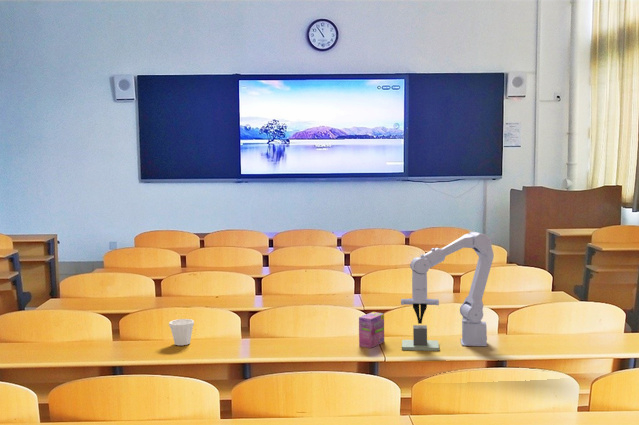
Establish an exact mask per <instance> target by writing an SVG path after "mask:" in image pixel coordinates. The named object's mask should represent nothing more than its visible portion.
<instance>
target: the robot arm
mask: <svg viewBox="0 0 639 425" xmlns="http://www.w3.org/2000/svg"><path fill="white" fill-rule="evenodd" d="M492 244H493V241H492V240H491V239H490V237H489V236H488V235H487V233H481V232H477V231H473V230H472V231H469V232H468V233H464V234H463V235H461V236H460V237H459V238H457V239H455V240H454V241H452V242H450V243H449V244H447V245H445V246H444V247H442V248H439V247H432V248H430V251H428V252H426V253H424V254H422V253H421V254H420V257H419V256H416V257H414V258H413V259H411V261H410V264H409V267H410V270H412V271H411V272H412V273H411V276H412V277H411V278H412V279H411V282H412V283H411V290H412V292H411V293H412V295H411V297H412V298H401V299H400V305H402V306H405V305H406V306H407V305H410V306H411V305H412V308H413V310H414V312H415V315H416V318H417V324H418V325H423V318H424V315H425V312H426V310H427V307H428V306H439V305H440V300H439V299H438V298H437V299H436V298H428V271H429V269H431V268H434V266H437V265H439V264H440V263H442V262H444V261H445V259H446V257H447V256H449V255H451V254H453V253H455V252H458V251H460V250H462V249H464V248H465V249H473V250H474V252H475V253H476V255H477V256H478V260H477V264H476V267H475V271H474V275H473V278H472V281H471V285H470V289H469V292H468V295H467V296H466V297H465V298H464V301H463V303H462V304H461V305H460V307H459V313H460V315H461V316H462V319H461V337H462V338H461V339H460V343H461V346H462V347H463V346H464V347H466V346H467V347H468V346H469V347H487V346H488V345H487V343H488V342H487V341H488V335H487V334H488V333H487V332H488V331H487V330H488V329H487V322H486V321H483V318H484V302H483V297H484V294H485V290H486V287H487V282H488V279H489V274H490V271H491V267H492V264H493V260H494V257H495V256H494V251H493V247H492V246H493V245H492Z"/></svg>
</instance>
